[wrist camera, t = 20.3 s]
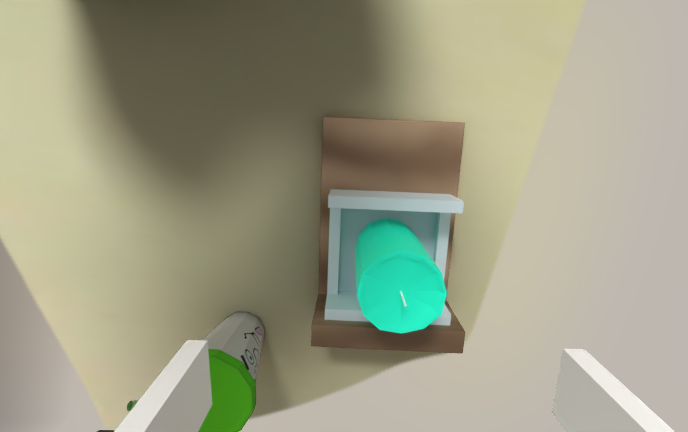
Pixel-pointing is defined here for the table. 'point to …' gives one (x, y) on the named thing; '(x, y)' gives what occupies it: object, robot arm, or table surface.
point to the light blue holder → (368, 206)
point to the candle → (397, 278)
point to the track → (393, 176)
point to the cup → (232, 372)
